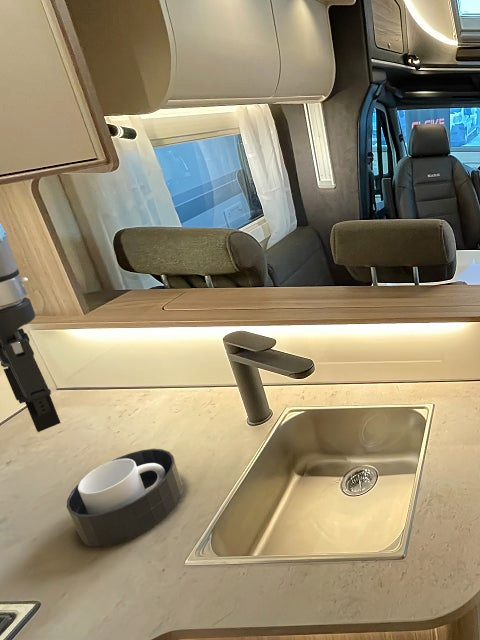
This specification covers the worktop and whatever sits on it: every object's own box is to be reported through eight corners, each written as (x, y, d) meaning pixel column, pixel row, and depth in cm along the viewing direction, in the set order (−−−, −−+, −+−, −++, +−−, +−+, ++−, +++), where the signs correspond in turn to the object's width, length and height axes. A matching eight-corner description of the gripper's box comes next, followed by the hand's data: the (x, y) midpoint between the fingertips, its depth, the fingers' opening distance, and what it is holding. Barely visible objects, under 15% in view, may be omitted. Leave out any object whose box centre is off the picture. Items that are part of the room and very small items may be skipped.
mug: (167, 478, 92) (155, 442, 89) (175, 501, 87) (162, 463, 83) (92, 514, 84) (76, 475, 80) (96, 542, 78) (79, 502, 75)
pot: (69, 518, 83) (55, 488, 80) (165, 465, 96) (156, 438, 93) (95, 564, 75) (81, 533, 72) (196, 499, 88) (187, 470, 85)
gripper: (50, 317, 63) (90, 427, 70) (10, 277, 76) (47, 375, 83) (-28, 337, 57) (25, 456, 64) (-58, 291, 69) (-11, 395, 77)
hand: (37, 410), depth 74 cm, fingers open, 13 cm apart
